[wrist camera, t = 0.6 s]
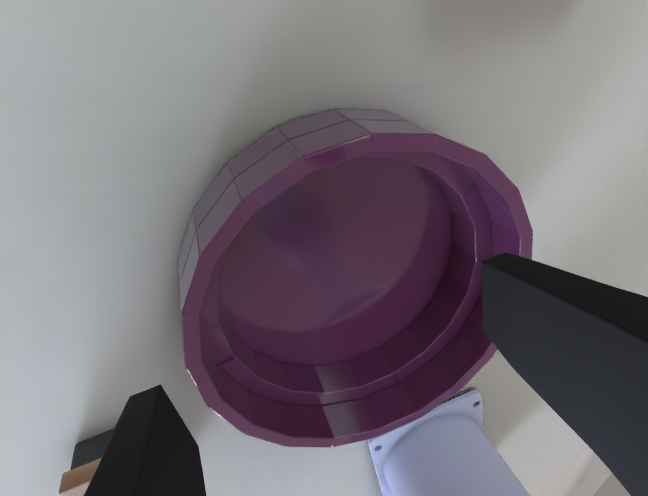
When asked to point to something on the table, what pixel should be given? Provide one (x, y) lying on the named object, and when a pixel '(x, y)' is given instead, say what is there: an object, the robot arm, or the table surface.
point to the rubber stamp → (84, 464)
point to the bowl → (343, 276)
